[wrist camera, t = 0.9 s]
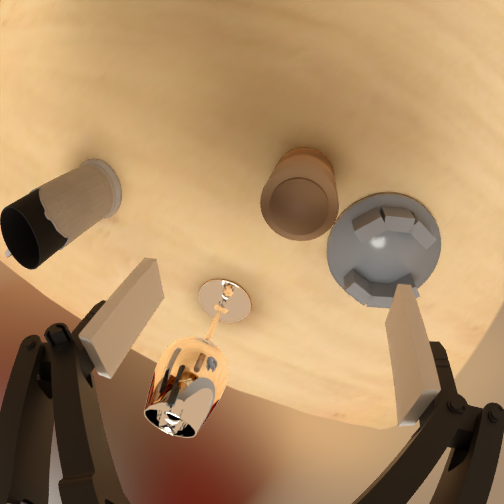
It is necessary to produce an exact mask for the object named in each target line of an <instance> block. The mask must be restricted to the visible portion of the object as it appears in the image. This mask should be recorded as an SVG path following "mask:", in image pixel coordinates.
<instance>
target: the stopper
mask: <svg viewBox="0 0 504 504" xmlns="http://www.w3.org/2000/svg"><path fill="white" fill-rule="evenodd" d="M260 204H261V211H262V214H263V217H264V219H265V221H266V222H267V224H268V225H269V226H270V228H271V229H272V230H274V231H275V232H276V233H277V234H279V235H281V236H283V237H285V238H287V239H291V240H296V241H306V240H311V239H314V238H317V237H319V236H321V235H323V234H324V233H325V232H327V231H328V230H329V229H330V228H331V226H332V225H333V223H334V222H335V220H336V217H337V214H338V209H339V203H338V195H337V189H336V183H335V177H334V171H333V168H332V165H331V163H330V161H329V160H328V159H327V157H326V156H325V155H323V154H322V153H321V152H319V151H317V150H315V149H312V148H306V147H302V148H296V149H293V150H291V151H289V152H287V153H286V154H285V155H284V156H283V157H282V158H281V159H280V161H279V163H278V164H277V166H276V168H275V169H274V171H273V173H272V174H271V176H270V178H269V180H268V181H267V183H266V185H265V187H264V189H263V191H262V194H261V202H260Z"/></svg>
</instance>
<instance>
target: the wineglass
mask: <svg viewBox="0 0 504 504" xmlns="http://www.w3.org/2000/svg"><path fill="white" fill-rule="evenodd" d="M199 302H200V305H201V306H202V308H203V310H204V311H205V312H206V313H207V314H208V315H209V316H211V317H213V318H214V320H213V322H212V324H211V326H210V328H209V330H208V332H207V334H206V336H205V337H204V338H200V337H185V338H182V339H179V340H176V341H174V342H173V343H172V344H170V345H169V346H168V347H167V348H166V349H165V351H164V352H163V353H162V355H161V357H160V359H159V361H158V363H157V366H156V368H155V371H154V374H153V378H152V381H151V385H150V388H149V392H148V397H147V401H146V406H145V410H144V415H145V417H146V418H147V419H148V420H149V422H151V423H152V424H153V425H154V426H156V427H157V428H159V429H161V430H162V431H165V432H167V433H169V434H172V435H175V436H178V437H184V438H190V437H194V436H195V435H196V434H197V433H198V431H199V430H200V429H201V427H202V426H203V424H204V423H205V422H206V420H207V419H208V417H209V416H210V414H211V413H212V411H213V409H214V408H215V406H216V405H217V403H218V401H219V400H220V398H221V396H222V394H223V391H224V389H225V387H226V384H227V380H228V376H229V373H228V364H227V361H226V359H225V356H224V354H223V353H222V351H221V350H220V349H219V348H218V347H217V346H216V345H215V344H213V343H212V342H211V339H212V336H213V333H214V331H215V328H216V326H217V324H218V322H219V321H222V322H227V323H234V322H239V321H241V320H243V319H245V318H246V317H247V316H248V314H249V313H250V310H251V302H250V299H249V296H248V295H247V293H246V292H245V291H244V290H243V289H242V288H241V287H240V286H238V285H237V284H235V283H233V282H230V281H227V280H221V279H217V280H211V281H209V282H206V283H205V284H204V285H203V286H202V287H201V288H200V291H199Z"/></svg>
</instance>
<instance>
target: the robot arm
mask: <svg viewBox="0 0 504 504" xmlns="http://www.w3.org/2000/svg"><path fill="white" fill-rule="evenodd" d="M163 299H164V293H163V289H162V284H161V279H160V274H159V270H158V265H157V259H152V258H144V259H143V260H142V262H141V263H140V264H139V265H138V266H137V267H136V268H135V269H134V270H133V271H132V273H131V274H130V275H129V276H128V277H127V278H126V279H125V280H124V282H123V283H122V284H121V285H120V286H119V287H118V288H117V290H116V291H115V292H114V293H113V294H112V295H111V296H110V298H109V299H108V300H107V301H104V300H102V301H101V302H99V303H98V304H96V305H95V306H94V307H93V308H92V309H91V310H90V312H89V313H88V314H87V315H86V316H85V318H84V319H83V320H82V321H81V322H80V323H79V325H78V326H77V327H76V328H75V329H74V331H73V332H72V333H70V331H69V329H68V327H67V325H65V324H64V323H56V324H53V325H51V326H50V327H49V328H47V330H46V331H45V334H44V336H45V338H46V340H47V342H48V343H43V342H42V341H41V339H40V337H39V336H38V335H30V336H28V337H26V338H25V339H24V340H23V341H22V343H21V345H20V348H19V351H18V353H17V356H16V359H15V362H14V365H13V368H12V372H11V375H10V378H9V381H8V384H7V388H6V391H5V395H4V399H3V403H2V407H1V411H0V504H48V496H49V469H50V454H51V443H52V433H53V425H54V421H55V430H56V437H57V445H58V451H59V457H60V463H61V468H62V473H63V479H62V480H60V481H59V484H58V485H59V492H60V496H61V500H62V504H130V502H129V500H128V499H127V497H126V496H125V494H124V493H123V490H122V487H121V485H120V482H119V479H118V476H117V472H116V470H115V466H114V463H113V460H112V457H111V453H110V449H109V445H108V442H107V438H106V434H105V430H104V426H103V422H102V417H101V413H100V408H99V403H98V399H97V393H96V388H95V382H94V376H93V374H92V370H93V369H94V367H95V368H96V370H97V372H98V374H99V375H102V376H105V377H107V378H110V379H111V378H112V376H113V375H114V373H115V372H116V370H117V369H118V367H119V365H120V364H121V362H122V361H123V359H124V357H125V356H126V354H127V353H128V351H129V350H130V348H131V347H132V345H133V344H134V342H135V341H136V339H137V338H138V336H139V335H140V333H141V331H142V330H143V328H144V327H145V325H146V324H147V322H148V321H149V319H150V318H151V316H152V315H153V313H154V312H155V311H156V309H157V308H158V306H159V305H160V303H161V302H162V300H163ZM385 326H386V332H387V338H388V344H389V350H390V357H391V364H392V371H393V379H394V388H395V397H396V407H397V419H398V426H412V425H413V426H414V425H415V423H416V422H417V421H418V420H419V421H420V427H419V429H418V430H417V431H416V432H415V433H414V434H413V436H412V438H411V439H410V440H409V442H408V443H407V444H406V445H405V447H404V448H403V449H402V450H401V452H400V453H399V454H398V455H397V457H395V459H394V460H393V461H392V462H391V463H390V464H389V466H388V467H387V468H386V469H385V470H384V471H383V472H382V473H381V475H380V476H379V477H378V478H377V479H376V480H375V481H374V482H373V483H372V484H371V485H370V486H369V487H368V488H367V489H366V490H365V491H364V492H363V493H362V494H361V495H360V496H359V497H358V498H357V499H356V500H355V501H354V502H353V503H352V504H406V503H407V502H408V501H409V499H410V498H411V497H412V496H413V495H414V493H415V492H416V490H417V489H418V488H419V487H420V486H421V484H422V483H423V482H424V480H425V479H426V477H427V476H428V475H429V473H430V472H431V471H432V469H433V468H434V466H435V465H436V463H437V462H438V460H439V459H440V457H441V456H442V454H443V453H444V451H445V450H446V448H447V447H450V448H451V451H450V454H449V457H448V460H447V462H446V465H445V468H444V471H443V473H442V476H441V479H440V481H439V483H438V486H437V488H436V491H435V493H434V495H433V498H432V500H431V502H430V504H486V502H487V499H488V496H489V493H490V490H491V486H492V483H493V479H494V475H495V472H496V468H497V463H498V459H499V454H500V450H501V445H502V439H503V433H504V409H503V408H502V407H501V406H500V405H499V404H497V403H489V404H487V405H486V406H485V407H484V408H483V409H482V408H478V407H474V406H470V405H468V404H467V402H466V400H465V399H464V398H463V397H462V396H461V395H459V394H458V393H457V390H456V386H455V382H454V378H453V374H452V371H451V367H450V364H449V360H448V357H447V353H446V350H445V349H444V347H443V346H442V345H441V343H440V342H429V340H428V336H427V333H426V329H425V326H424V323H423V320H422V316H421V313H420V310H419V307H418V304H417V301H416V298H415V295H414V292H413V289H412V287H411V285H405V284H398V285H397V288H396V291H395V295H394V298H393V301H392V304H391V307H390V310H389V313H388V316H387V319H386V322H385ZM37 375H38V376H37Z"/></svg>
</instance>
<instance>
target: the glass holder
mask: <svg viewBox="0 0 504 504" xmlns="http://www.w3.org/2000/svg"><path fill="white" fill-rule="evenodd" d="M121 198H122V190H121V185H120V182H119V179H118V177H117V175H116V173H115V172H114V170H113V169H112V168H111V167H110V166H109V165H108V164H107V163H105V162H104V161H102V160H99V159H89V160H86V161H85V162H83V163H82V164H81V165H80V166H79V168H76V169H74V170H72V171H70V172H68V173H66V174H64V175H62V176H59V177H57V178H55V179H53V180H51V181H49V182H47V183H45V184H44V185H42V186H40V187H38V188H36V189H34V190H32V191H31V192H30V193H29V194H28V195H26V196H24V197H22V198H21V199H19V200H17V201H15V202H14V203H12V204H10V205H9V206H7V207H5V208H4V209H3V211H2V213H1V217H0V225H1V231H2V235H3V238H4V241H5V243H6V245H7V247H8V250H7V251H6V252H5V255H6V257H7V258H8V257H10V256H11V255H13V257H14V258H15V259H16V260H17V261H18V262H19V263H20V264H21V265H22V266H24V267H25V268H27V269H36V268H37V267H38V266H40V265H41V264H42V263H43V262H44V261H46V260H47V259H48V258H49V257H50V256H52V255H53V254H54V253H55V252H57V251H58V250H61V249H63V248H64V247H65V246H67V245H68V244H69V243H70V242H72V241H73V240H74V239H76V238H77V237H78V236H80V235H81V234H82V233H83V232H85V231H86V230H87V229H89V228H90V227H92V226H93V225H94V224H96V223H97V222H98V221H100V220H101V219H102V218H107V217H110V216H112V215H113V214H115V213H116V211H117V210H118V208H119V207H120V204H121Z"/></svg>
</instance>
